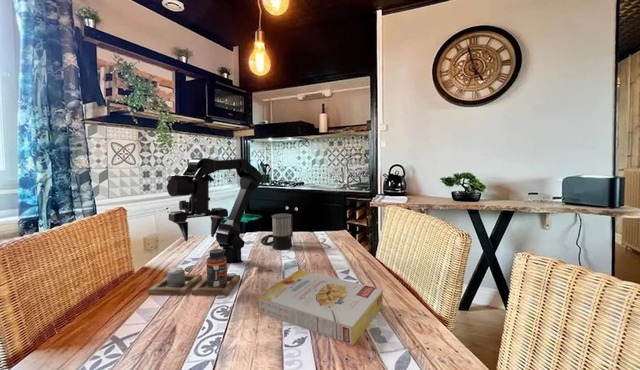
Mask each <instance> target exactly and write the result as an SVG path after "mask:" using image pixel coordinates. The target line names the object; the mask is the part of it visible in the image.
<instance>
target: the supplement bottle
mask: <svg viewBox="0 0 640 370" xmlns="http://www.w3.org/2000/svg"><path fill="white" fill-rule="evenodd" d="M227 275H228V263H227V258H226V257H225V256H224V255H223V248H222V249H221V248H214V249H211V250H209V257H208V258H207V259H206V276H207V286H208V288H223V287H225V286H226V285H227Z"/></svg>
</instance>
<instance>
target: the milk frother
mask: <svg viewBox="0 0 640 370" xmlns="http://www.w3.org/2000/svg"><path fill="white" fill-rule="evenodd" d="M271 218H272V219H271V220H272V222H271V223H272V234H267V235H265V236H263V237H261V239H260V243H261V244H262V245H264V246H265V245H267V246H268V245H272V247H271V248H272V249H274V250H279V251H285V250H290V249H292V247H293V239H292V238H293V233H294V232H293V229H294V227H293V226H294V219H293V215H292V214H290V213H275V214H272V215H271ZM270 238H272V241H269V239H270Z"/></svg>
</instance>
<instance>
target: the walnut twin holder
mask: <svg viewBox="0 0 640 370" xmlns="http://www.w3.org/2000/svg"><path fill="white" fill-rule="evenodd" d="M240 281H241V275H240V274H227V285H226V286H225V287H223V288H208V286H207V275H206V276H204V278H202V274H185V286H183V287H168V284H167V275H166V276H165V277H164V278H163V279H161V280H160V281H158V282H157V283H155V284H154V285H152V286H150V287H149V288H148V289H147V290H148V295H184V296H185V295H186V294H187V293H188V292H190V291H191V296H192V295H193V296H194V295H195V296H196V295H197V296H198V295H200V296H201V295H204V296H205V295H208V296H212V295H213V296H229V295H230V293H231V292H232V291H233V290H234V289H235V287H236V286H237V284H238V283H239V282H240Z"/></svg>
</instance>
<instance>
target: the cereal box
mask: <svg viewBox="0 0 640 370" xmlns="http://www.w3.org/2000/svg"><path fill="white" fill-rule="evenodd" d="M383 291H384V290H383V289H381V288H378V287H374V286H370V285H365V284H361V283H359V282H358V283H357V282H353V281H350V280H346V279H341V278H337V277H333V276H329V275H324V274H320V273H316V272H312V271H308V270H304V269H301V268H300V269H298V270H296V271H295V272H293V273H292V274H290V275H288V276H287V277H285V278H284V279H282V280H281V281H279V282H277V283H276V284H274V285H272V286H271V287H269V288H268V289H266V290H264V291H263V292H261V293H260V294H258V295H257V311H258V313H259V314H263V315H265V316H268V317H270V318H274V319H276V320H281V321H282V322H286V323H288V324H291V325H292V326H293V325H294V326H296V327H300V328H303V329H305V330H308V331H311V332H314V333H316V334H320V335H323V336H325V337H329V338H331V339H334V340H336V341H340V342H342V343H345V344H348V345H352V346H354V344H355V343H356V342H357V341H358V340H359V339H360V337H361V336H362V334H363V333H364V331H365V330H366V329H367V328H368V327H369V325H370V323H371V322H372V321H373V319H374V318H375V316H377V314H378V313H379V311H380V310H381V309H382V307H383V306H384V305H383V303H384V302H383V298H384V296H383V293H384V292H383Z"/></svg>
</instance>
